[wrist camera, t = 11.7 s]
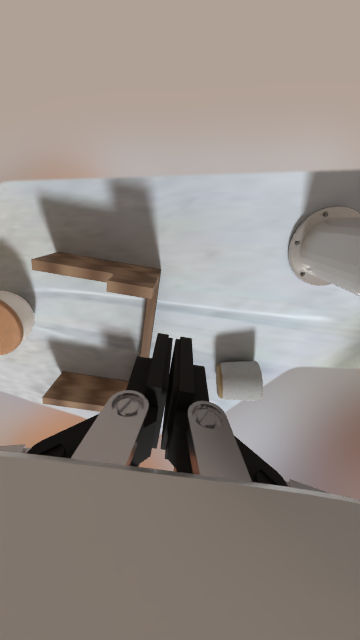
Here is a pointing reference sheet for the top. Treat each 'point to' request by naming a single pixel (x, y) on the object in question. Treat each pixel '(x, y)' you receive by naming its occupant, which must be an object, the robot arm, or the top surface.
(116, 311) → the top surface
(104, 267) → the wooden rack
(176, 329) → the top surface
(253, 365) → the white mug
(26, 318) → the lidded jar
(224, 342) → the top surface
